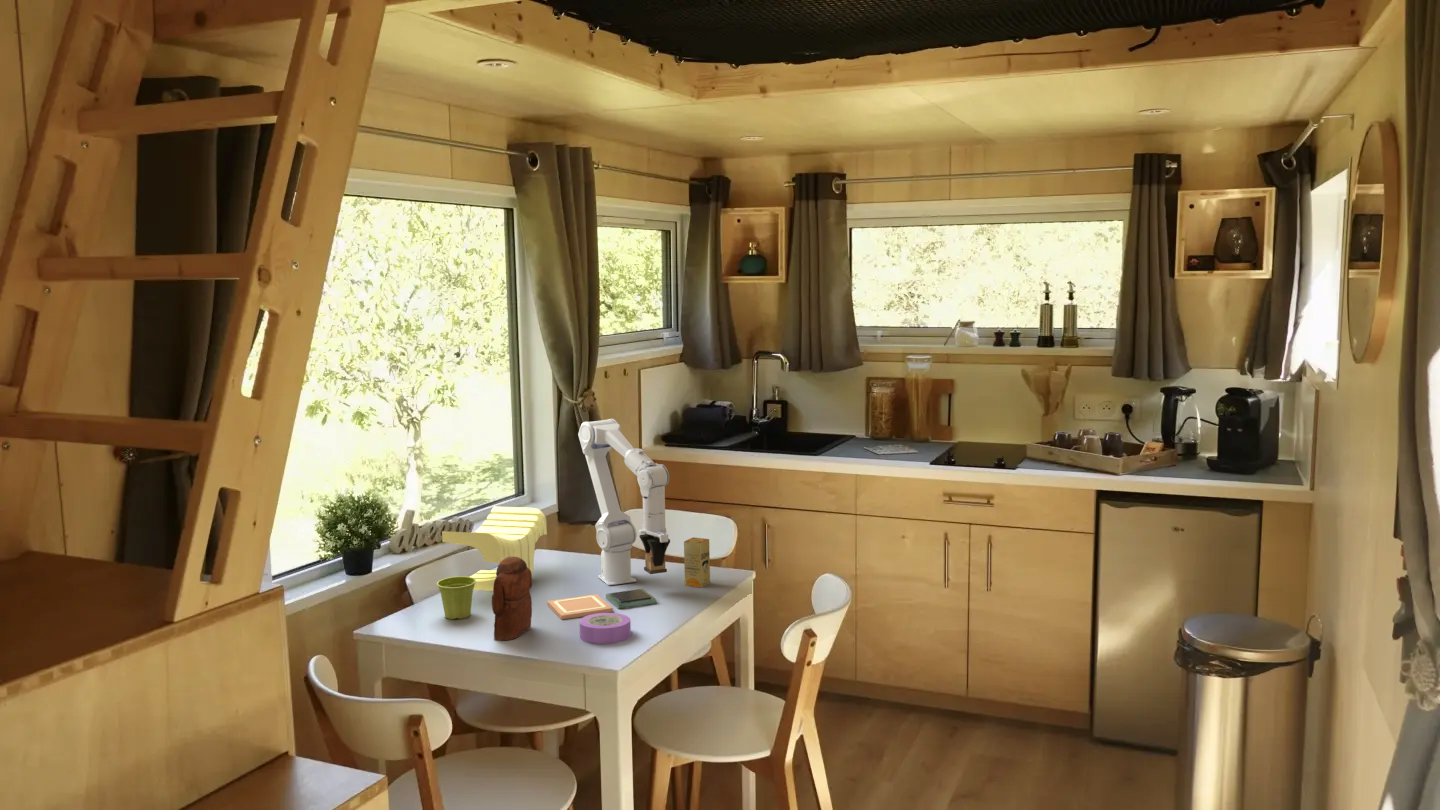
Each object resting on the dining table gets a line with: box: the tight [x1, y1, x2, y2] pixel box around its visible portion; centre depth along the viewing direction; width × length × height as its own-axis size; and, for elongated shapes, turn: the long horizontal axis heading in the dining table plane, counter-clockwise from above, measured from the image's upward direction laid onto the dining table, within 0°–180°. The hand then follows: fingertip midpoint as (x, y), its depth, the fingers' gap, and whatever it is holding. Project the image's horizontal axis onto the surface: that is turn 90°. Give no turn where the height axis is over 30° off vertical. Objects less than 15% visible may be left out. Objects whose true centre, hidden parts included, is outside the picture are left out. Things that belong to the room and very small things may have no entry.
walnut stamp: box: [643, 550, 668, 575], centre depth 277 cm, size 5×5×6 cm
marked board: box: [546, 593, 614, 621], centre depth 267 cm, size 13×13×1 cm
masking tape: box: [579, 612, 632, 645], centre depth 247 cm, size 12×12×4 cm
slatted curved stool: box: [441, 506, 548, 592], centre depth 289 cm, size 30×16×18 cm, turn 166°
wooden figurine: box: [491, 557, 533, 641], centre depth 248 cm, size 12×6×18 cm, turn 164°
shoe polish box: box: [683, 537, 711, 589], centre depth 286 cm, size 5×5×12 cm
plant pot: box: [436, 575, 476, 620], centre depth 262 cm, size 9×9×9 cm
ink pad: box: [605, 588, 657, 610], centre depth 272 cm, size 10×10×2 cm
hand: (655, 563), depth 277 cm, fingers closed on walnut stamp, 4 cm apart
